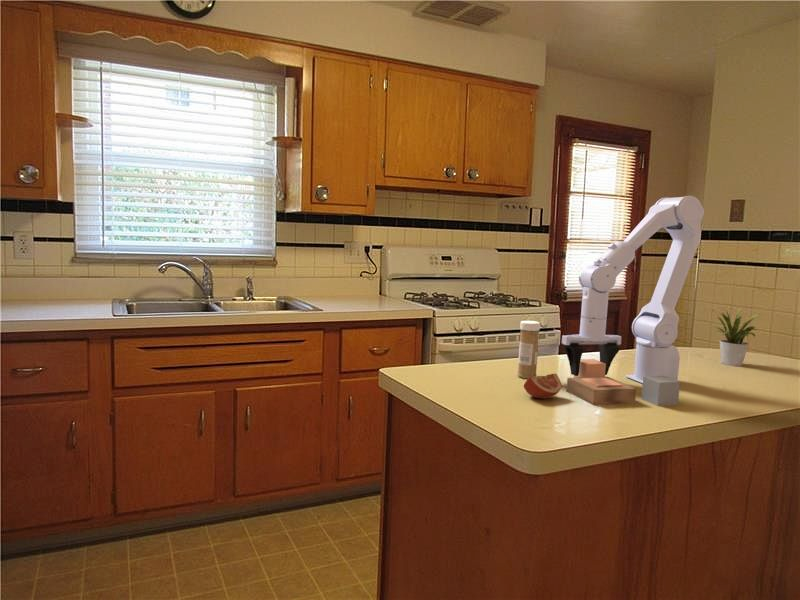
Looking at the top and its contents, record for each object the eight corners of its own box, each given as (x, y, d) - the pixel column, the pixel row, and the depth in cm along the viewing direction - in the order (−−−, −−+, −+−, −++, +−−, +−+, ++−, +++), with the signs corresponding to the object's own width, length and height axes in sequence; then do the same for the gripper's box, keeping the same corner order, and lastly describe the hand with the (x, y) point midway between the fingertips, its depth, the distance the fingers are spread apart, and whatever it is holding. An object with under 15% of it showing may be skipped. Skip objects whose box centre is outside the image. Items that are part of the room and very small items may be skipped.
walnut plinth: (605, 391, 132) (607, 375, 131) (634, 404, 122) (636, 386, 122) (566, 393, 129) (567, 376, 129) (592, 406, 120) (594, 388, 119)
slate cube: (661, 398, 127) (663, 375, 126) (677, 405, 122) (680, 381, 121) (641, 399, 125) (643, 376, 125) (657, 406, 121) (659, 382, 120)
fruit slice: (543, 391, 128) (545, 369, 128) (568, 399, 123) (570, 376, 122) (516, 396, 123) (518, 373, 123) (541, 405, 118) (543, 381, 117)
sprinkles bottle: (540, 378, 140) (544, 322, 139) (526, 380, 138) (530, 323, 136) (526, 373, 144) (530, 319, 142) (512, 375, 141) (516, 320, 140)
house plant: (694, 363, 164) (700, 305, 162) (701, 355, 175) (707, 301, 173) (753, 372, 156) (760, 311, 154) (757, 363, 167) (764, 306, 165)
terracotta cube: (591, 379, 141) (593, 358, 141) (604, 384, 137) (605, 363, 136) (573, 379, 140) (575, 359, 140) (585, 385, 135) (586, 364, 135)
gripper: (610, 314, 142) (605, 369, 144) (556, 314, 139) (552, 371, 140) (628, 319, 136) (623, 377, 137) (573, 319, 132) (568, 378, 133)
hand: (588, 374), depth 138 cm, fingers open, 7 cm apart
